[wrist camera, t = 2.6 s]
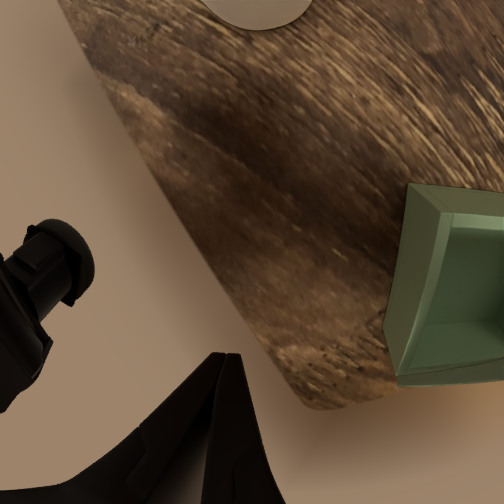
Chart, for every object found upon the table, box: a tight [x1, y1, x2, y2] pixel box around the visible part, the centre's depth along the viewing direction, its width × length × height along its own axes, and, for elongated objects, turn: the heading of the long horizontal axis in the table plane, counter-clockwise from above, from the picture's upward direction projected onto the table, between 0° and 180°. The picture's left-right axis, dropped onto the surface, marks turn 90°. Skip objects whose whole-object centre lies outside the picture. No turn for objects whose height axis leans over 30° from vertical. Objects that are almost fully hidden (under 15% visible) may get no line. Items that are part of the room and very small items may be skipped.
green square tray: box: [382, 183, 504, 376], centre depth 18 cm, size 12×12×5 cm
